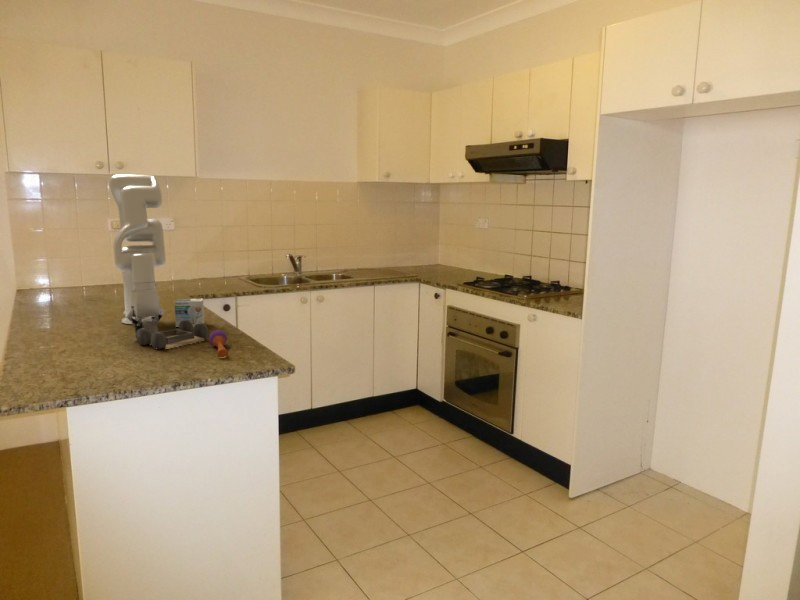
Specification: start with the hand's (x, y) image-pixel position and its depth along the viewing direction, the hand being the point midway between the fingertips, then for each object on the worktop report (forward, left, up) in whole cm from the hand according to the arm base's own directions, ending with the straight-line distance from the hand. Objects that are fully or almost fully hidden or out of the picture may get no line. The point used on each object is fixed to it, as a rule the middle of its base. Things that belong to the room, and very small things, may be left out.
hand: (147, 333), depth 216 cm
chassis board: (+16, 0, -1) cm, 16 cm away
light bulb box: (-2, +20, -1) cm, 20 cm away
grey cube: (0, 0, -1) cm, 1 cm away
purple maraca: (+39, +3, -1) cm, 39 cm away
